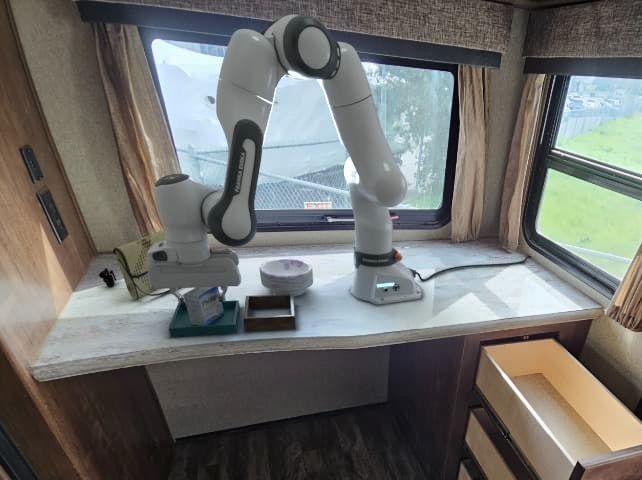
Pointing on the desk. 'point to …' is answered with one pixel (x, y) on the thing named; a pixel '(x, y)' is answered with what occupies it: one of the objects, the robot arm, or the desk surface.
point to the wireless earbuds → (108, 277)
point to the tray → (222, 325)
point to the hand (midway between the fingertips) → (203, 301)
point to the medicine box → (203, 305)
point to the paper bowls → (286, 276)
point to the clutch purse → (138, 264)
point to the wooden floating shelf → (269, 321)
